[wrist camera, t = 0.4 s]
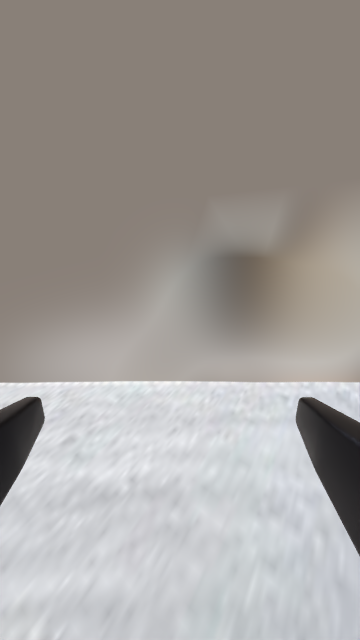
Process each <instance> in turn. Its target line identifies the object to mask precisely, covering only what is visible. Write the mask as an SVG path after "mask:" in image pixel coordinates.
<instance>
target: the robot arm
mask: <svg viewBox="0 0 360 640" xmlns="http://www.w3.org/2000/svg"><path fill="white" fill-rule="evenodd" d="M44 419H45V417H44V412H43V407H42V402H41V399H40V398H38V397H26V398H24V399H22V400H20V401H17V402H15V403H13V404H11V405H9V406H7V407H5V408H3V409H1V410H0V505H1V504H2V502H3V500H4V499H5V497H6V495H7V494H8V492H9V490H10V488H11V487H12V485H13V483H14V482H15V480H16V478H17V477H18V475H19V473H20V471H21V469H22V468H23V466H24V464H25V462H26V460H27V458H28V456H29V453H30V451H31V449H32V447H33V445H34V443H35V441H36V439H37V437H38V434H39V432H40V430H41V428H42V426H43V424H44ZM296 423H297V426H298V429H299V431H300V434H301V436H302V439H303V441H304V444H305V446H306V449H307V451H308V454H309V456H310V459H311V461H312V464H313V466H314V468H315V470H316V472H317V474H318V476H319V478H320V480H321V482H322V484H323V486H324V488H325V490H326V492H327V494H328V496H329V498H330V500H331V502H332V503H333V505H334V507H335V509H336V511H337V513H338V515H339V517H340V519H341V521H342V523H343V525H344V527H345V529H346V531H347V532H348V534H349V536H350V538H351V540H352V542H353V544H354V546H355V548H356V550H357V552H358V554H359V556H360V423H359V422H358V421H356V420H354V419H352V418H350V417H348V416H346V415H344V414H343V413H341V412H339V411H337V410H335V409H333V408H331V407H330V406H328V405H326V404H324V403H322V402H320V401H318V400H317V399H315V398H312V397H302V398H300V399H299V402H298V408H297V413H296Z"/></svg>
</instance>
